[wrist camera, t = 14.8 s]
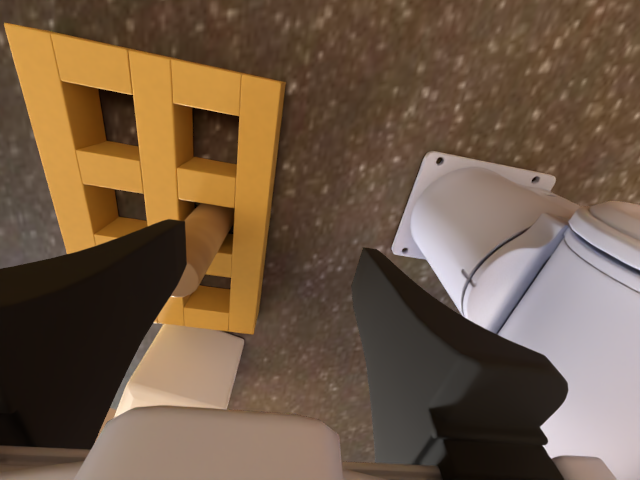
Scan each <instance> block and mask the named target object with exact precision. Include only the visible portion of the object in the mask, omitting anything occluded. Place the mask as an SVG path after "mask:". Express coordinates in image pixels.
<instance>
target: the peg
mask: <svg viewBox="0 0 640 480" xmlns="http://www.w3.org/2000/svg"><path fill="white" fill-rule="evenodd" d="M234 213H235V208H229V207H223V206H217V205H211V204H205V203H200V204H199V205H198V206H197V207H196V208H195V210H194V211H193V212H192V213H191V214H190V215H189V216H188V217H187V218H186V219H185V220H184V221H185V231H186V256H187V265H186V268H185V270H184V272H183V275H182V277H181V279H180V281H179V283H178V285H177V287H176V289H175V290H174V292H173V293H172V295H171V297H184V296H187V295H190V294H192V293H193V292H194V291H195V290H196V289H197V288H198V286H199V284H200V283H201V281H202V279H203V277H204V275H205V274H206V272H207V270H208V268H209V266H210V265H211V263H212V261H213V259H214V257H215V256H216V254H217V252H218V250H219V248H220V247H221V245H222V243H223V241H224V239H225V238H226V236H227V234H228V232H229V231H230V229H231V227H232V225H233V223H234Z"/></svg>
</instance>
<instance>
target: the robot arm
mask: <svg viewBox="0 0 640 480" xmlns="http://www.w3.org/2000/svg"><path fill="white" fill-rule="evenodd" d="M439 157H442V161H441V162H440V163H439V164H437V163H436V160H437V159H438V158H439ZM534 177H536V179H535V180H534V181H533V182H532V179H533V178H534ZM555 182H556V178H555V176H553V175H550V174H546V173H541V172H536V171H531V170H526V169H521V168H516V167H511V166H506V165H501V164H496V163H491V162H486V161H481V160H476V159H471V158H466V157H461V156H456V155H451V154H446V153H441V152H437V151H430V152H428V153H427V154H426V155H425V156H424V159H423V162H422V164H421V167H420V170H419V173H418V175H417V178H416V181H415V184H414V186H413V189H412V192H411V195H410V197H409V200H408V203H407V206H406V208H405V211H404V214H403V217H402V220H401V222H400V225H399V228H398V231H397V233H396V236H395V239H394V242H393V244H392V248H391V249H392V251H393V253H394V254H396V255H401V256H407V257H414V258H420V259H426V260H427V261H428V262H429V264H430V265H431V267H432V269H433V270H434V272H435V273H436V275H437V276H438V278H439V280H440V281H441V283H442V284H443V286H444V287H445V289H446V291H447V292H448V294H449V295H450V297H451V298H452V300H453V302H454V303H455V305H456V306H457V308H458V309H459V311H460V313H461V314H462V315H460V314H458V313H456V312H455V311H453V310H452V309H450V308H448V307H447V306H445V305H444V304H443V303H441V302H440V301H438V300H437V299H435V298H434V297H432V296H431V295H430V294H428V293H427V292H426V291H425V290H423V289H422V288H421V287H420V286H418V285H417V284H416V283H415V282H413V281H412V280H411V279H410V278H409V277H408V276H407V275H405V274H404V273H403V272H402V271H401V270H400V269H399V268H398V267H397V266H395V265H394V264H393V263H392V262H391V261H390V260H389V259H388V258H387V257H386V256H385V255H383V254H382V253H381V252H380V251H379V250H377V249H370V248H363V250H362V253H361V256H360V260H359V263H358V266H357V269H356V273H355V276H354V279H353V282H352V299H353V307H354V312H355V316H356V321H357V325H358V329H359V333H360V337H361V341H362V346H363V350H364V355H365V360H366V366H367V374H368V382H369V391H370V401H371V410H372V422H373V435H374V449H375V463H366V462H344V461H341V451H340V440H339V435H338V434H337V433H336V432H335V431H333V430H332V429H331V428H330V427H328V426H327V425H326V424H324V423H323V422H322V421H321V420H319V419H315V418H311V417H307V416H302V415H298V414H290V413H275V412H260V411H245V410H230V409H215V408H200V407H185V406H170V405H158V406H146V407H135V408H133V409H130V410H128V411H126V412H124V413H122V414H120V415H119V416H117V417H115V418H113V419H111V420H110V421H108V422H107V423H106V425H105V427H104V428H103V430H102V432H101V433H100V435H99V437H98V439H97V440H96V438H97V436H98V433H99V431H100V429H101V426H102V424H103V422H104V419H105V417H106V415H107V412H108V411H109V408H110V406H111V404H112V402H113V399H114V397H115V395H116V393H117V391H118V388H119V386H120V384H121V382H122V380H123V378H124V376H125V374H126V372H127V370H128V367H129V365H130V363H131V361H132V359H133V358H134V356H135V354H136V352H137V350H138V348H139V346H140V344H141V342H142V340H143V338H144V337H145V335H146V333H147V332H148V330H149V328H150V327H151V325H152V324H153V322H154V321H155V319H156V318H157V316H158V315H159V313H160V312H161V310H162V309H163V307H164V306H165V304H166V303H167V301H168V299H169V298H170V296H171V295H172V293H173V292H174V290H175V289H176V287H177V285H178V283H179V281H180V279H181V277H182V275H183V272H184V270H185V268H186V265H187V256H186V231H185V221H179V220H172V219H167V220H163V221H160V222H158V223H155V224H152V225H150V226H147V227H145V228H142V229H140V230H137V231H135V232H132V233H130V234H127V235H125V236H122V237H119V238H116V239H114V240H111V241H108V242H105V243H102V244H99V245H97V246H94V247H91V248H87V249H84V250H81V251H77V252H74V253H70V254H66V255H63V256H59V257H55V258H51V259H46V260H42V261H37V262H32V263H28V264H23V265H18V266H14V267H8V268H3V269H0V480H640V205H638V204H633V203H628V202H622V201H607V202H604V203H600V204H596V205H593V206H584V207H582V206H580V205H578V204H575V203H573V202H571V201H569V200H567V199H565V198H563V197H560V196H558V195H556V194H554V193H552V192H550V191H551V189H552V187H553V186H554V184H555ZM403 248H407V249H406V250H405V251H402V249H403ZM95 441H96V442H95ZM94 443H95V444H94Z"/></svg>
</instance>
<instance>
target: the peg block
mask: <svg viewBox="0 0 640 480" xmlns="http://www.w3.org/2000/svg"><path fill="white" fill-rule="evenodd" d="M4 26H5V30H6V33H7V37H8V41H9V44H10V48H11V52H12V55H13V59H14V62H15V66H16V70H17V73H18V77H19V81H20V84H21V88H22V92H23V95H24V99H25V102H26V106H27V110H28V113H29V117H30V121H31V124H32V128H33V131H34V135H35V139H36V142H37V146H38V150H39V153H40V157H41V160H42V164H43V168H44V171H45V175H46V179H47V182H48V186H49V189H50V193H51V197H52V200H53V204H54V208H55V211H56V215H57V218H58V222H59V226H60V229H61V233H62V237H63V240H64V244H65V247H66V251H67V254H70V253H74V252H77V251H81V250H84V249H87V248H91V247H94V246H97V245H99V244H102V243H105V242H108V241H111V240H114V239H116V238H119V237H122V236H125V235H127V234H130V233H132V232H135V231H137V230H140V229H142V228H145V227H147V226H150V225H152V224H155V223H158V222H160V221H163V220H167V219H172V220H179V221H184V220H185V219H186V218H187V217H188V216H189V215H190V214H191V213H192V212H193V211H194V210H195V209H194V202H199V203H205V204H211V205H217V206H223V207H229V208H235V213H234V233H233V234H227V236H226V238H225V239H224V241H223V243H222V245H221V247H220V248H219V250H218V252H217V254H216V256H215V257H214V259H213V261H212V263H211V265H210V266H209V268H208V270H207V272H206V274H208V275H215V276H222V277H230V278H231V289H223V288H216V287H208V286H201V285H199V286H198V288H197V289H196V290H195V291H194V292H193V293H192V294H190V295H187V296H184V297H171V296H170V298H169V299H168V301H167V303H166V304H165V306H164V307H163V309H162V310H161V312H160V313H159V315H158V316H157V318H156V319H155V321H154V322H153V323H162V324H170V325H179V326H184V325H185V326H186V327H194V328H203V329H212V330H220V331H229V332H237V333H245V334H254V330H255V326H256V321H257V317H258V313H259V306H260V298H261V289H262V281H263V272H264V264H265V255H266V247H267V238H268V230H269V221H270V213H271V204H272V196H273V187H274V179H275V170H276V162H277V153H278V145H279V136H280V128H281V119H282V111H283V102H284V94H285V85H286V82H283V81H278V80H273V79H269V78H264V77H259V76H255V75H250V74H246V73H241V72H236V71H232V70H227V69H222V68H218V67H213V66H209V65H204V64H199V63H195V62H190V61H185V60H181V59H176V58H171V57H167V56H162V55H158V54H153V53H148V52H144V51H139V50H135V49H130V48H125V47H121V46H116V45H111V44H107V43H102V42H98V41H93V40H88V39H84V38H79V37H74V36H70V35H65V34H61V33H56V32H51V31H46V30H41V29H35V28H30V27H25V26H19V25H14V24H9V23H4ZM98 88H100V89H105V90H110V91H115V92H120V93H125V94H130V95H133V98H134V107H135V116H136V125H137V134H138V143H139V146H133V145H128V144H122V143H117V142H111V141H106V135H105V128H104V122H103V116H102V110H101V104H100V97H99V91H98ZM192 107H195V108H200V109H205V110H210V111H215V112H220V113H225V114H230V115H235V116H239V136H238V155H237V164H232V163H226V162H221V161H215V160H209V159H204V158H198V157H193V117H192ZM114 189H118V190H124V191H130V192H136V193H142V194H143V193H144V197H145V207H146V216H147V221H144V220H138V219H131V218H125V217H119V215H118V209H117V203H116V196H115V190H114Z"/></svg>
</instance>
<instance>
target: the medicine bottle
mask: <svg viewBox="0 0 640 480" xmlns="http://www.w3.org/2000/svg"><path fill="white" fill-rule="evenodd" d="M243 346H244V339H242V338H240V337H237V336H234V335H231V334H228V333H226V332H223V331H220V330H212V329H203V328H194V327H186V326H185V325H184V326H179V325H170V324H163V326H162V328H161V329H160V331H159V333H158V334H157V336H156V337H155V339H154V341H153V342H152V344H151V346H150V347H149V349H148V350H147V352H146V354H145V355H144V357H143V359H142V360H141V362H140V363H139V365H138V367H137V368H136V370H135V372H134V373H133V375H132V376H131V378H130V380H129V381H128V383H127V385H126V387H125V390H124V393H123V395H122V398H121V401H120V403H119V406H118V408H117V411H116V414H115V416H114V418H115V417H117V416H119V415H120V414H122V413H124V412H126V411H128V410H130V409H133V408H135V407H146V406H158V405H170V406H185V407H200V408H215V409H227V406H228V403H229V399H230V395H231V391H232V387H233V384H234V380H235V376H236V372H237V368H238V365H239V361H240V357H241V353H242V349H243Z"/></svg>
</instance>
